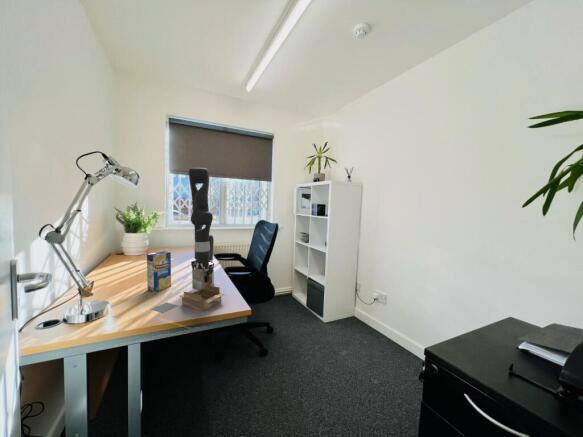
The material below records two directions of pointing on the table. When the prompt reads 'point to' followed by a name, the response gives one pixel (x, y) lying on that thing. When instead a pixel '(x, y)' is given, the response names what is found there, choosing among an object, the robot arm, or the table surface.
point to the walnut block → (200, 279)
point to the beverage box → (158, 270)
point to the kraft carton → (202, 298)
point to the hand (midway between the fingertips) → (202, 281)
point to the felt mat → (164, 307)
